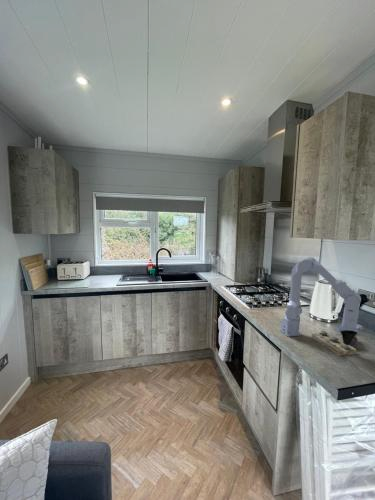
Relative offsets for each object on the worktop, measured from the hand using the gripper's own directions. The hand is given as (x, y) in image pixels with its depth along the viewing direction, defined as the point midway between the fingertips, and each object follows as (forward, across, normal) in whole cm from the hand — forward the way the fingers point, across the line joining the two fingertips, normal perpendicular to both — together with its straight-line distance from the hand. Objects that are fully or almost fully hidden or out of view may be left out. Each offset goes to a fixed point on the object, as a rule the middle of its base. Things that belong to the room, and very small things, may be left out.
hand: (346, 344), depth 107 cm
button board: (+4, -1, +6) cm, 8 cm away
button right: (+3, 0, 0) cm, 3 cm away
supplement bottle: (+1, +14, +11) cm, 17 cm away
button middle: (+2, 0, +6) cm, 7 cm away
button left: (+2, 0, +13) cm, 13 cm away
